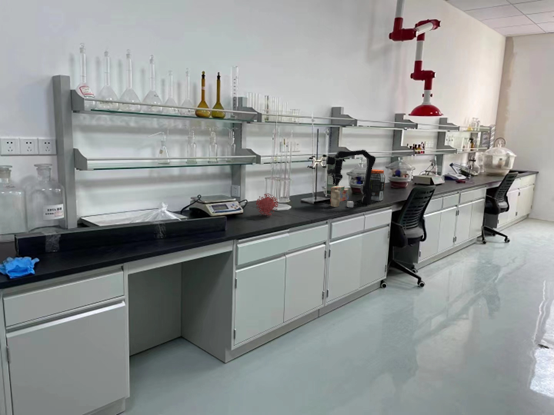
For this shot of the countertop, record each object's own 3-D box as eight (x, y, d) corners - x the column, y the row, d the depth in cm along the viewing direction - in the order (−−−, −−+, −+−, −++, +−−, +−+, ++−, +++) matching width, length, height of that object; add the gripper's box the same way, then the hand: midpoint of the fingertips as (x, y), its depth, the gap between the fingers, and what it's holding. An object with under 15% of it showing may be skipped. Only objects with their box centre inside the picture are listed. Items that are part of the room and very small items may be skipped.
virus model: (282, 216, 280) (283, 194, 277) (265, 218, 270) (266, 196, 268) (267, 212, 291) (268, 191, 288) (251, 214, 281) (252, 192, 278)
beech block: (335, 205, 329) (336, 190, 327) (338, 206, 325) (340, 191, 323) (330, 205, 327) (331, 190, 324) (334, 206, 323) (335, 191, 320)
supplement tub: (386, 201, 361) (389, 171, 356) (369, 201, 357) (372, 170, 352) (378, 197, 376) (380, 169, 371) (362, 197, 372) (364, 168, 367)
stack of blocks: (342, 198, 364) (343, 184, 361) (348, 199, 360) (349, 185, 358) (330, 201, 347) (331, 186, 344) (336, 202, 343) (337, 187, 341)
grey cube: (351, 206, 329) (352, 201, 328) (353, 207, 325) (353, 202, 324) (346, 206, 328) (347, 201, 327) (348, 207, 324) (348, 202, 324)
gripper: (326, 163, 344) (323, 182, 347) (330, 165, 326) (327, 185, 328) (339, 165, 345) (336, 184, 348) (344, 168, 327) (340, 187, 329)
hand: (334, 185), depth 338 cm, fingers open, 9 cm apart
